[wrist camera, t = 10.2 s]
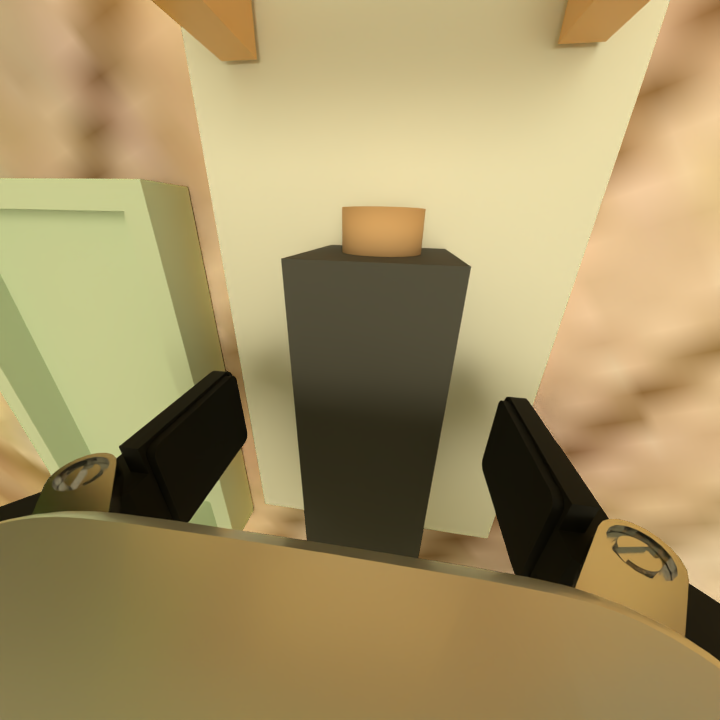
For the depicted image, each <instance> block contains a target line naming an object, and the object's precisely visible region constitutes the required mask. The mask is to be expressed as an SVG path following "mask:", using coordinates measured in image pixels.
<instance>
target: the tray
mask: <svg viewBox="0 0 720 720" xmlns="http://www.w3.org/2000/svg"><path fill="white" fill-rule="evenodd" d="M212 371H224V372H225V367H224V362H223V357H222V352H221V347H220V342H219V337H218V332H217V328H216V323H215V318H214V313H213V308H212V303H211V298H210V293H209V288H208V284H207V279H206V274H205V269H204V264H203V259H202V254H201V249H200V245H199V240H198V235H197V230H196V225H195V220H194V215H193V210H192V205H191V201H190V196H189V191H188V187H185V186H179V185H173V184H167V183H161V182H155V181H149V180H143V179H52V178H0V392H1V393H2V395H3V397H4V398H5V400H6V401H7V403H8V405H9V406H10V408H11V410H12V411H13V413H14V415H15V416H16V418H17V419H18V421H19V423H20V424H21V426H22V428H23V429H24V431H25V433H26V434H27V436H28V438H29V439H30V441H31V442H32V444H33V446H34V447H35V449H36V451H37V452H38V454H39V456H40V457H41V459H42V460H43V462H44V464H45V465H46V467H47V469H48V470H49V472H50V474H51V475H52V474H53V473H55V472H56V471H57V470H58V469H60V468H61V467H63V466H64V465H66V464H68V463H70V462H72V461H74V460H76V459H78V458H81V457H84V456H86V455H90V454H95V453H110V454H112V455H114V456H115V457H116V458H117V457H118V456H120V455H121V454H122V453H121V451H120V449H119V446H120V445H121V444H122V443H124V442H125V441H126V440H127V439H129V438H130V437H131V436H132V435H134V434H135V433H136V432H137V431H139V430H140V429H141V428H142V427H144V426H145V425H146V424H147V423H149V422H150V421H151V420H152V419H153V418H155V417H156V416H157V415H158V414H160V413H161V412H162V411H163V410H165V409H166V408H167V407H168V406H170V405H171V404H172V403H173V402H175V401H176V400H177V399H178V398H180V397H181V396H182V395H183V394H184V393H186V392H187V391H188V390H189V389H191V388H192V387H193V386H194V385H196V384H197V383H198V382H199V381H201V380H202V379H203V378H204V377H206V376H207V375H208V374H209V373H211V372H212ZM253 511H254V508H253V503H252V499H251V494H250V489H249V484H248V479H247V474H246V469H245V464H244V459H243V455H242V450H241V449H240V450H239V452H238V453H237V455H236V456H235V457H234V459H233V460H232V462H231V463H230V464H229V466H228V467H227V469H226V470H225V472H224V473H223V474H222V476H221V477H220V479H219V480H218V482H217V483H216V484H215V486H214V487H213V489H212V490H211V491H210V493H209V494H208V496H207V497H206V499H205V500H204V501H203V503H202V504H201V506H200V507H199V508H198V510H197V511H196V513H195V514H194V516H193V517H192V518H191V520H190V521H189V522H188V523H194V524H200V525H207V526H214V527H221V528H227V529H234V530H241V531H243V529H244V527H245V525H246V523H247V522H248V520H249V518H250V516H251V514H252V512H253Z"/></svg>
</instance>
